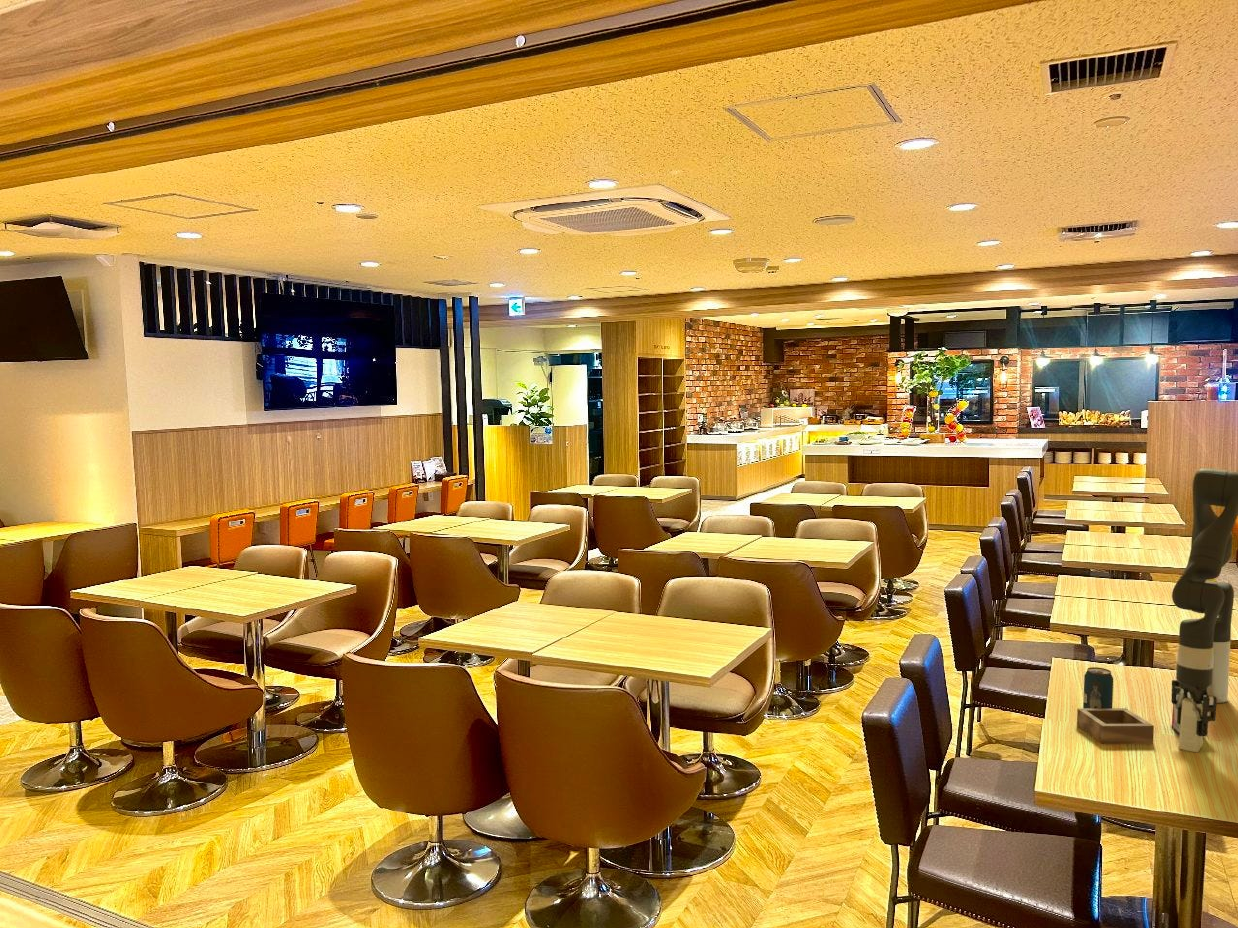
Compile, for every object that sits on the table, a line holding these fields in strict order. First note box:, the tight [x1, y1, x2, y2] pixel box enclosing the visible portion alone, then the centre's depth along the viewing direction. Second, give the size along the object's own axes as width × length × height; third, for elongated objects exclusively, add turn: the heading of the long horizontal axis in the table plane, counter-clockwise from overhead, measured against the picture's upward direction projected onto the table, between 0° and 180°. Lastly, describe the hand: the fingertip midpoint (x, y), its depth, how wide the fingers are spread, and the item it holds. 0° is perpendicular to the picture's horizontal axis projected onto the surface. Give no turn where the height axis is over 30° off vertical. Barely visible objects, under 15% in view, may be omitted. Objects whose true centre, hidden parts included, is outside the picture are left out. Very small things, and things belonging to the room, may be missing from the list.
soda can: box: [1082, 666, 1114, 708], centre depth 250 cm, size 7×7×12 cm
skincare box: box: [1178, 698, 1204, 753], centre depth 226 cm, size 6×4×12 cm
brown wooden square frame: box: [1076, 707, 1155, 745], centre depth 236 cm, size 13×13×4 cm
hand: (1191, 729), depth 227 cm, fingers closed on skincare box, 7 cm apart
